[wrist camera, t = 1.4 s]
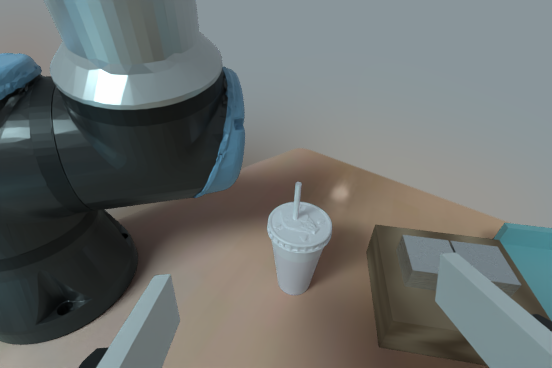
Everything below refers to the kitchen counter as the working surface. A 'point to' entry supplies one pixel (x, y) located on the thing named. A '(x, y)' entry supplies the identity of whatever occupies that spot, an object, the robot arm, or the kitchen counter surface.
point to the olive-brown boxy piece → (424, 300)
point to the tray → (531, 258)
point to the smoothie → (297, 241)
